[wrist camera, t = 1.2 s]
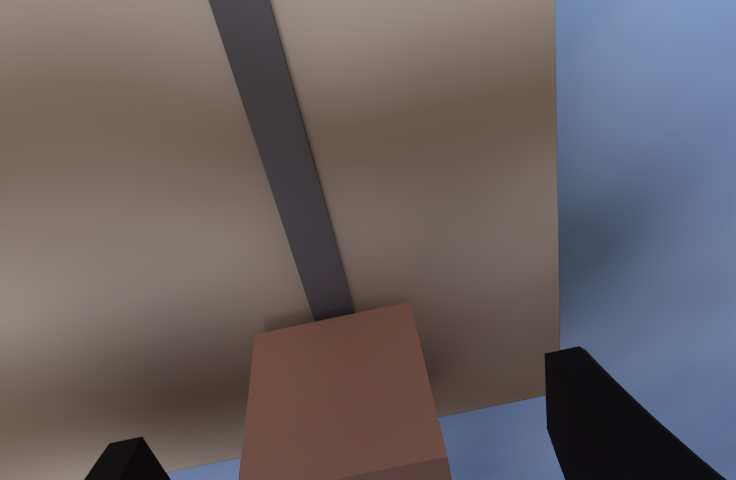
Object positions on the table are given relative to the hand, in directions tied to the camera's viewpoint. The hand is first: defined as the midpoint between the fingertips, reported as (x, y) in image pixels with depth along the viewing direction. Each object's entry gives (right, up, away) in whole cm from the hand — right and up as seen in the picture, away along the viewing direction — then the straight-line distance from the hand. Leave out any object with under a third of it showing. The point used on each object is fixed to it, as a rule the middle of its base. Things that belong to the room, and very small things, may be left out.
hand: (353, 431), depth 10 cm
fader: (0, +1, +1) cm, 2 cm away
